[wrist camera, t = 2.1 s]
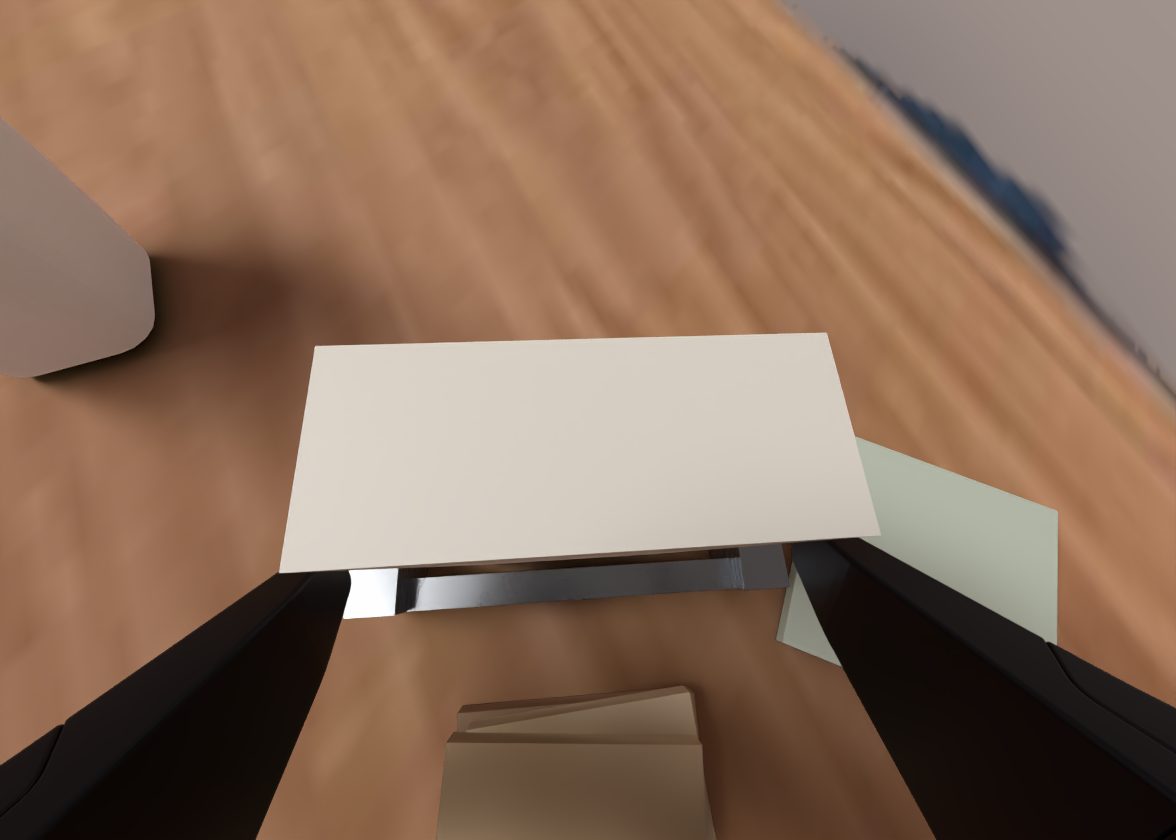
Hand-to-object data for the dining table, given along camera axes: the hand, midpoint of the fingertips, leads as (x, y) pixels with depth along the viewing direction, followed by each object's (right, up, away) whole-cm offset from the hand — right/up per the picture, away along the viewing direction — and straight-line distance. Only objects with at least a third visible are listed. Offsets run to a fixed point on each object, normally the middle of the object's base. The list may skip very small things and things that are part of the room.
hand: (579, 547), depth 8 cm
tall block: (-1, -2, +9) cm, 9 cm away
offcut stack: (0, -9, +6) cm, 11 cm away
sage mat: (+14, -4, +9) cm, 17 cm away
